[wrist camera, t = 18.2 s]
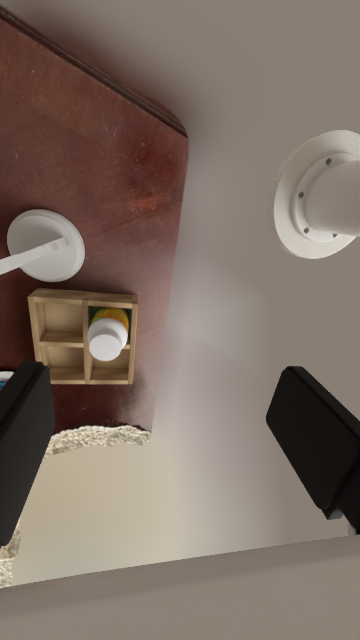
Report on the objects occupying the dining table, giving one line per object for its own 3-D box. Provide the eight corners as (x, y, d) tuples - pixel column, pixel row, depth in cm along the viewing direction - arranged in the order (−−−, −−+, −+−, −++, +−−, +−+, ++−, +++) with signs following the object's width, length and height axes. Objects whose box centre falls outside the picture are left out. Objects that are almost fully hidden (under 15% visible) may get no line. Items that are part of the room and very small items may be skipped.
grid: (137, 295, 39) (137, 303, 35) (132, 370, 44) (132, 384, 41) (38, 287, 36) (27, 296, 32) (47, 368, 42) (38, 384, 38)
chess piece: (96, 267, 36) (71, 300, 22) (36, 290, 36) (-26, 337, 22) (62, 198, 31) (5, 188, 18) (-7, 224, 31) (-116, 233, 18)
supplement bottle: (104, 296, 37) (93, 321, 28) (135, 311, 39) (134, 340, 30) (89, 323, 38) (75, 356, 30) (120, 337, 40) (114, 371, 32)
